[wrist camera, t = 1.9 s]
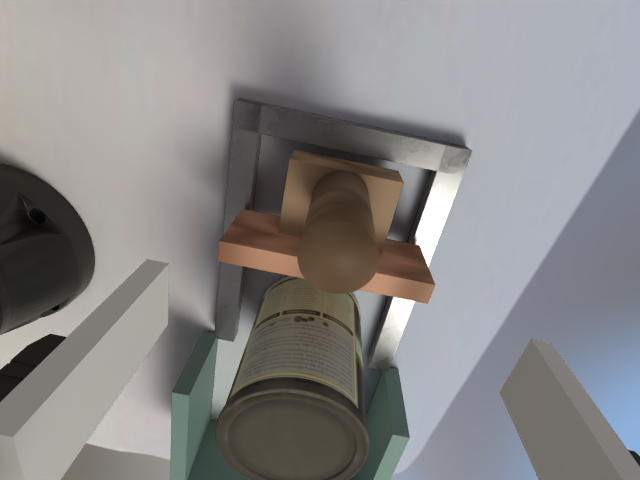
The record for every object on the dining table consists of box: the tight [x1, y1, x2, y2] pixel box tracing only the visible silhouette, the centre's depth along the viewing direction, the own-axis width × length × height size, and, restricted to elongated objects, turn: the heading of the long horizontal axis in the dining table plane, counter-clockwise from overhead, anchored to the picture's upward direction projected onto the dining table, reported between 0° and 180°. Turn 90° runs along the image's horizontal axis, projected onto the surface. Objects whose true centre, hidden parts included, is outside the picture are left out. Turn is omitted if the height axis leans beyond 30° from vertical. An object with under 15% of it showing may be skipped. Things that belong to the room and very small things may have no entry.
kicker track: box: [214, 98, 472, 372], centre depth 33 cm, size 18×23×2 cm
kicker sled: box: [218, 149, 435, 304], centre depth 24 cm, size 15×7×12 cm, turn 79°
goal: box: [170, 331, 410, 480], centre depth 39 cm, size 21×15×8 cm
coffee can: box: [215, 276, 369, 480], centre depth 31 cm, size 10×10×14 cm
